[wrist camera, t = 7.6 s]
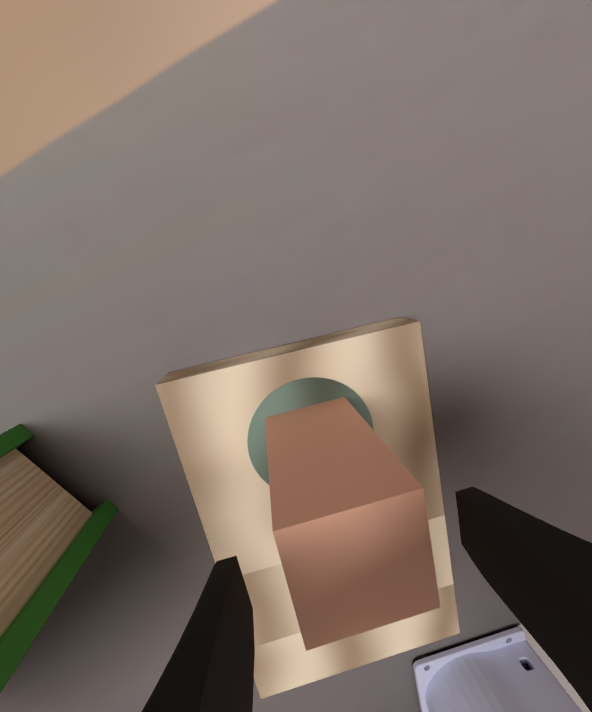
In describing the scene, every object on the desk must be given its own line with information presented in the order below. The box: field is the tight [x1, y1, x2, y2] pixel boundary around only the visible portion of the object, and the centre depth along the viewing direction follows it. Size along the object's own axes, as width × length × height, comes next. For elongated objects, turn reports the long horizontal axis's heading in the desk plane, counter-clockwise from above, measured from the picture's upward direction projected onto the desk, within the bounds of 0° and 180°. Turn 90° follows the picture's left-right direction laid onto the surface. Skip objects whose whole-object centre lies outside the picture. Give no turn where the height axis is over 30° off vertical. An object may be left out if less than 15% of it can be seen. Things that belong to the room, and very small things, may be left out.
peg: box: [265, 397, 441, 651], centre depth 13 cm, size 4×4×8 cm
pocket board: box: [155, 318, 460, 699], centre depth 19 cm, size 14×22×3 cm, turn 12°
